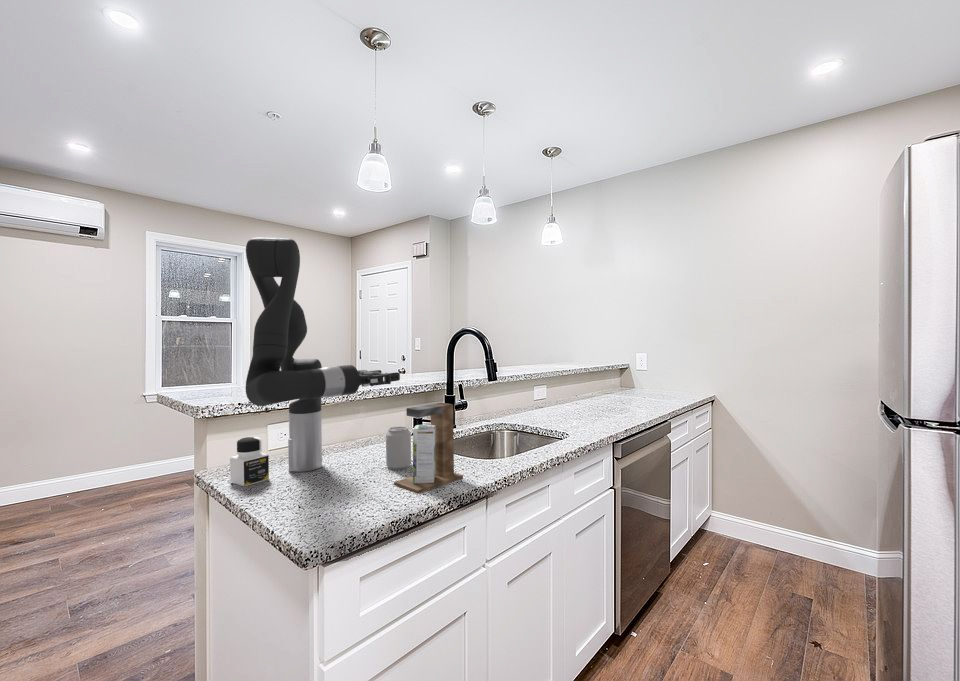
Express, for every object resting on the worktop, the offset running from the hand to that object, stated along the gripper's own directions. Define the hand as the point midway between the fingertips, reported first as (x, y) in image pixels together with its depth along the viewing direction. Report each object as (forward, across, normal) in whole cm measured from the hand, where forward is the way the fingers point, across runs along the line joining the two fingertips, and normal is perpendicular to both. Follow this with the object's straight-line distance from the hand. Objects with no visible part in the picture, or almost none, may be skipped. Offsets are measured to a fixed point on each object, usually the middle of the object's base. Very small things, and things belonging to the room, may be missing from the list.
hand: (389, 375), depth 120 cm
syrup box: (+4, -10, +28) cm, 30 cm away
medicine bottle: (-27, +29, +30) cm, 49 cm away
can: (+8, +7, +30) cm, 32 cm away
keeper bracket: (+5, -10, +29) cm, 31 cm away
